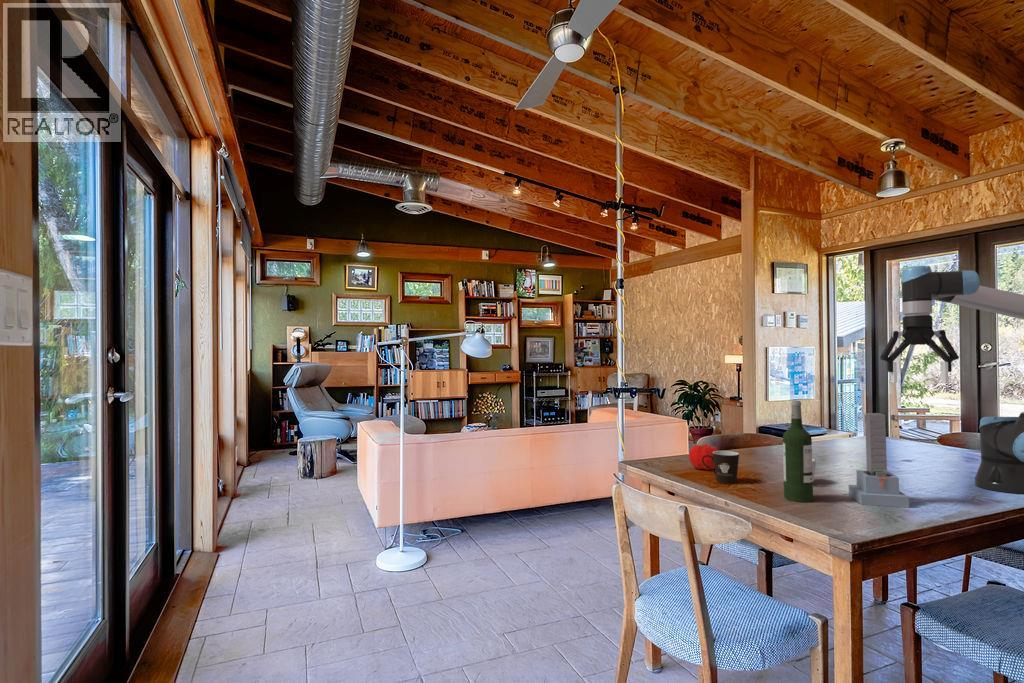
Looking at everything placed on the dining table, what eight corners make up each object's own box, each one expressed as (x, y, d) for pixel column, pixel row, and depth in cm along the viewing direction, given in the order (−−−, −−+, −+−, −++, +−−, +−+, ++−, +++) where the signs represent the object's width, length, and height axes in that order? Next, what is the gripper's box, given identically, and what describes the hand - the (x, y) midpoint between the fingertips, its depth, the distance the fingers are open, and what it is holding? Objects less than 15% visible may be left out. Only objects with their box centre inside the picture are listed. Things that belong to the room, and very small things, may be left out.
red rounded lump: (718, 473, 200) (717, 448, 200) (685, 469, 207) (685, 446, 207) (724, 467, 209) (723, 444, 209) (692, 464, 216) (692, 442, 216)
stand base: (893, 496, 165) (892, 466, 165) (909, 507, 153) (908, 475, 154) (848, 494, 168) (847, 464, 168) (861, 504, 157) (860, 473, 157)
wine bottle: (815, 503, 159) (812, 402, 159) (785, 501, 161) (783, 401, 162) (810, 496, 166) (808, 399, 167) (782, 494, 169) (780, 399, 170)
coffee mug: (745, 482, 185) (744, 453, 185) (730, 486, 180) (729, 456, 181) (715, 476, 195) (715, 448, 195) (700, 479, 190) (700, 451, 190)
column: (882, 479, 162) (880, 413, 163) (888, 482, 158) (886, 415, 158) (867, 478, 163) (865, 413, 164) (872, 482, 159) (870, 414, 159)
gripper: (958, 314, 169) (960, 382, 168) (867, 317, 176) (869, 381, 176) (971, 313, 162) (973, 383, 161) (875, 315, 169) (877, 383, 168)
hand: (919, 382), depth 168 cm, fingers open, 13 cm apart
